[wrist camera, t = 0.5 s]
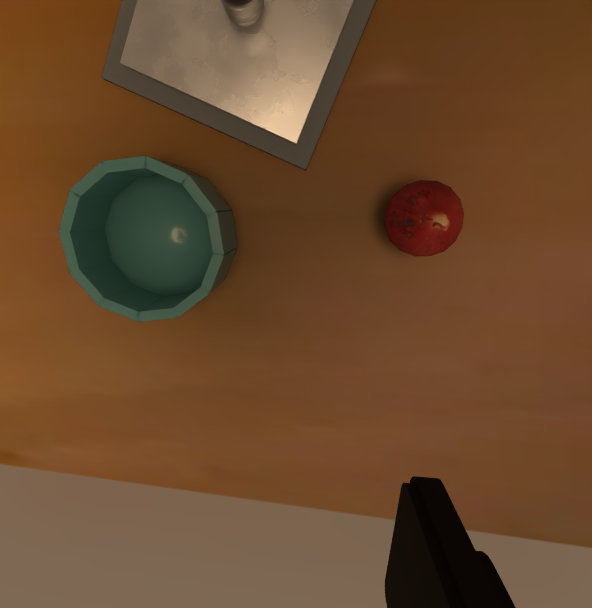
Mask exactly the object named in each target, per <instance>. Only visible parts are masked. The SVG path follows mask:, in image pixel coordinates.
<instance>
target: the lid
mask: <svg viewBox="0 0 592 608" xmlns="http://www.w3.org/2000/svg"><path fill="white" fill-rule="evenodd" d="M353 2H354V0H137V4H136V7H135V11H134V14H133V18H132V22H131V25H130V29H129V32H128V36H127V39H126V43H125V47H124V50H123V54H122V57H121V61H120V63H121V64H122V65H123V66H125V67H127V68H129V69H131V70H134V71H136V72H138V73H140V74H142V75H145V76H147V77H149V78H151V79H153V80H156V81H158V82H160V83H162V84H164V85H167V86H169V87H171V88H173V89H175V90H178V91H180V92H182V93H184V94H186V95H188V96H191V97H193V98H195V99H197V100H199V101H202V102H204V103H206V104H208V105H210V106H213V107H215V108H217V109H219V110H221V111H224V112H226V113H228V114H230V115H232V116H235V117H237V118H239V119H241V120H243V121H245V122H248V123H250V124H252V125H254V126H256V127H259V128H261V129H263V130H265V131H267V132H270V133H272V134H274V135H276V136H278V137H281V138H283V139H285V140H287V141H289V142H292V143H294V144H297V142H298V139H299V137H300V134H301V132H302V129H303V127H304V125H305V122H306V120H307V117H308V115H309V112H310V110H311V107H312V105H313V102H314V100H315V97H316V95H317V92H318V90H319V87H320V85H321V82H322V80H323V77H324V75H325V72H326V70H327V67H328V65H329V62H330V60H331V57H332V55H333V52H334V50H335V47H336V45H337V42H338V40H339V37H340V35H341V32H342V30H343V27H344V25H345V22H346V20H347V17H348V15H349V12H350V10H351V7H352V5H353Z"/></svg>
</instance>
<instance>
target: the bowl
mask: <svg viewBox="0 0 592 608" xmlns="http://www.w3.org/2000/svg"><path fill="white" fill-rule="evenodd" d="M59 230H60V232H59V234H60V238H61V242H62V245H63V249H64V253H65V257H66V261H67V265H68V268H69V272H72V273H71V275H72V276H73V277H74V279H75V280H76V281H77V282H78V283H79V284H80V285H81V287H82V288H83V289H84V290H85V291H86V292H87V293H88V294H89V296H90V297H91V298H92V299H93V300H94V301H95V302H96V303H97V305H100V307H102V308H105V309H107V310H110V311H112V312H115V313H117V314H120V315H122V316H125V317H127V318H130V319H132V320H134V321H139V322H142V321H151V320H160V319H169V318H177V317H179V316H181V315H182V314H183V313H185V312H186V311H187V310H189V309H190V308H191V307H193V306H194V305H195V304H196V303H198V302H199V301H200V300H202V299H203V298H204V297H206V296H207V295H208V294H210V293H211V292H212V291H213V290H214V289H215V288H216V287H217V286H218V285H219V284H220V283H221V282H222V281H223V280H224V279H225V278H226V275H227V273H228V270H229V268H230V265H231V262H232V260H233V257H234V255H235V252H236V250H237V240H236V233H235V227H234V220H233V214H232V211H231V208H230V207H229V206H228V204H227V203H226V202H225V201H224V199H223V198H222V197H221V195H220V194H219V193H218V191H217V190H216V189H215V187H214V186H213V185H212V183H211V182H210V181H209V180H208V179H206V178H204V177H202V176H199V175H197V174H195V173H193V172H190V171H188V170H186V169H183V168H181V167H179V166H177V165H174V164H171V163H168V162H165V161H161V160H158V159H155V158H151V157H148V156H139V157H132V158H124V159H116V160H109V161H103V162H101V163H99V164H98V165H97V166H96V167H95V168H94V169H93V170H91V171H90V172H89V173H88V174H87V175H86V176H85V177H84V178H82V179H81V180H80V181H79V182H78V183H77V184H76V185H75V186H73V187H72V188H71V190H70V191H69V195H68V198H67V202H66V206H65V209H64V213H63V217H62V221H61V224H60V228H59Z"/></svg>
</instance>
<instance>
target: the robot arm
mask: <svg viewBox="0 0 592 608" xmlns="http://www.w3.org/2000/svg"><path fill="white" fill-rule="evenodd" d="M385 596H386V603H387V608H515V606H514V604H513V602H512V600H511V598H510V596H509V594H508V592H507V590H506V588H505V586H504V584H503V582H502V580H501V578H500V577H499V575H498V573H497V571H496V569H495V567H494V565H493V563H492V562H491V560H490V559H489V557H488V556H487V555H486V554H485V553H484V552H482V551H475V549H474V547H473V545H472V543H471V540H470V538H469V536H468V534H467V532H466V530H465V528H464V526H463V524H462V522H461V520H460V518H459V516H458V514H457V512H456V510H455V508H454V506H453V503H452V501H451V499H450V497H449V495H448V493H447V491H446V489H445V487H444V485H443V483H442V481H441V480H440V479H438V478H426V477H415V476H414V477H412V478H411V480H410V483H403V484H402V487H401V492H400V498H399V504H398V509H397V515H396V521H395V527H394V532H393V538H392V544H391V550H390V555H389V561H388V566H387V572H386V578H385Z"/></svg>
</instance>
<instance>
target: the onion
mask: <svg viewBox="0 0 592 608" xmlns="http://www.w3.org/2000/svg"><path fill="white" fill-rule="evenodd" d="M463 218H464V212H463V208H462V204H461V201H460V198H459V197H458V196H457V195H456V194H455V192H454V191H453V190H452V189H451V187H449V186H447V185H444V184H442V183H440V182H438V181H423V180H420V181H417V182H414V183H411V184H407V185H406V186H405V187H404V188H402V189H401V190H400V191H399V192H397V193H396V194H395V195H394V196H393V198H392V199H391V201H390V203H389V204H388V206H387V208H386V211H385V221H384V225H385V228H386V231H387V234H388V237H389V239H390V241H391V242H392V243H393V244H394V245H395V246H396V247H397V248H398V249H399V250H401V251H403V252H406V253H408V254H411V255H413V256H431V255H434V254H437V253H441V252H444V251H445V250H446V249H447V248H448V247H449V246H451V245H452V244H453V243H454V242H455V241H456V239H457V237H458V235H459V233H460V231H461V229H462V225H463Z"/></svg>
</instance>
